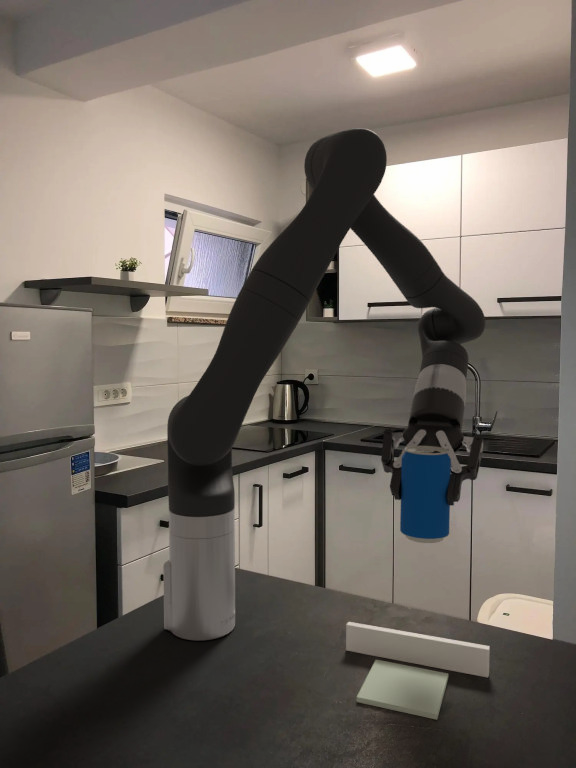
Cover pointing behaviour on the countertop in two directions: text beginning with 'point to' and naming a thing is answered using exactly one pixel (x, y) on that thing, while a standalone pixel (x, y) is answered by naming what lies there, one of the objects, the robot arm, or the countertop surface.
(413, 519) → the beverage can
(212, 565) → the robot arm
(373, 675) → the mat
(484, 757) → the countertop surface
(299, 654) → the countertop surface
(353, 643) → the low wall
